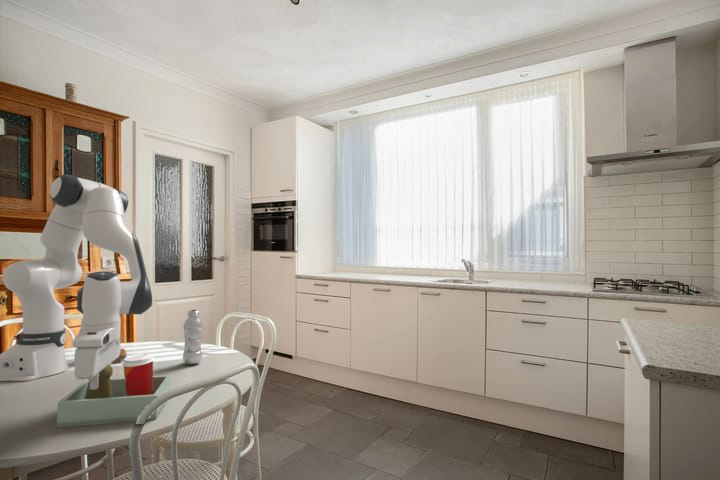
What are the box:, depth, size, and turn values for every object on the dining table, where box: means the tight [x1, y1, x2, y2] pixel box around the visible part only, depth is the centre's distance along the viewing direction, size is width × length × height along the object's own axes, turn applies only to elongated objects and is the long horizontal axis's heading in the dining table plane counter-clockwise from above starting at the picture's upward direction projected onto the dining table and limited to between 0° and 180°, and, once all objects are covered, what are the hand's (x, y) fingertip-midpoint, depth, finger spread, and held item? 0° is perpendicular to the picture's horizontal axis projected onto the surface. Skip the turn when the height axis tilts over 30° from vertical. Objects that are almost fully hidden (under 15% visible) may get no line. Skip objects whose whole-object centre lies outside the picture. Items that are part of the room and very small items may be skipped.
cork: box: [89, 365, 114, 399], centre depth 103 cm, size 6×6×11 cm
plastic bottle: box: [182, 309, 203, 365], centre depth 144 cm, size 6×7×20 cm
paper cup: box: [121, 353, 155, 396], centre depth 105 cm, size 8×8×14 cm
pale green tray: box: [56, 374, 172, 428], centre depth 104 cm, size 22×16×6 cm
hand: (99, 384), depth 102 cm, fingers open, 4 cm apart
